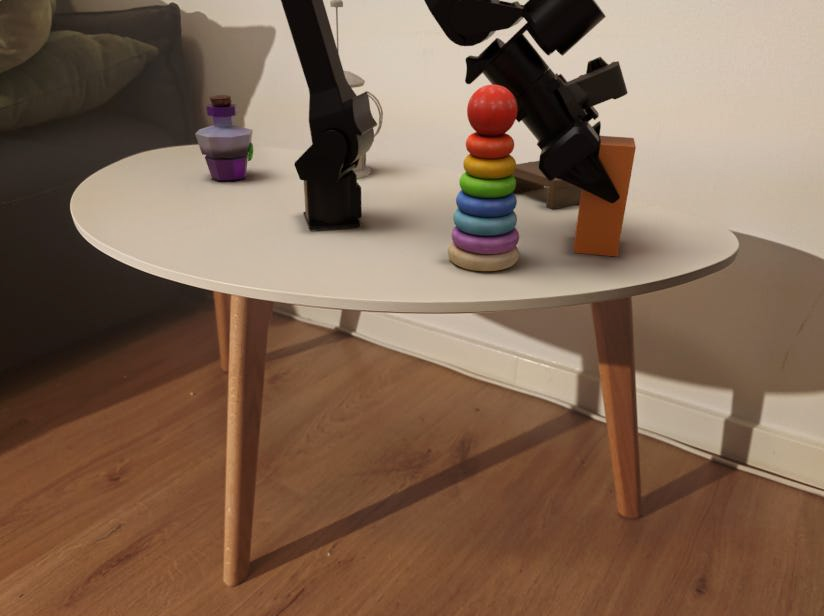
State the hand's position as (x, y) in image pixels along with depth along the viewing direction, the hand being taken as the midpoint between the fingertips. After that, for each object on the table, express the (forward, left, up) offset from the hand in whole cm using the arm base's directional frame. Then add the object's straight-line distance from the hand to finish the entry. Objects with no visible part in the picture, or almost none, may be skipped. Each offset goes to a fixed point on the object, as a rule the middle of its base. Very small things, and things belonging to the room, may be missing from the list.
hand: (615, 194), depth 80 cm
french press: (-24, +42, -7) cm, 49 cm away
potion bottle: (-43, +41, -7) cm, 60 cm away
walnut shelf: (+2, +22, -7) cm, 23 cm away
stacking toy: (-16, -1, -7) cm, 18 cm away
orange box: (-1, +1, -7) cm, 7 cm away
